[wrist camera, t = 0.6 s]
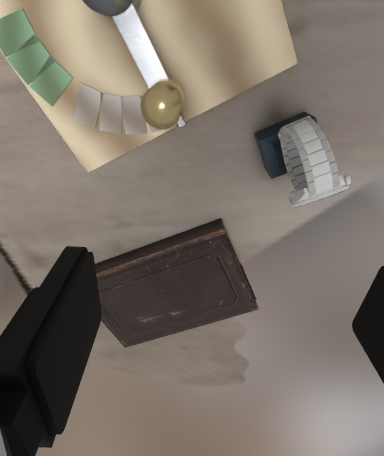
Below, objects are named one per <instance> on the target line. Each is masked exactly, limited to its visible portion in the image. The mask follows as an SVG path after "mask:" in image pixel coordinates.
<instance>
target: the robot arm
mask: <svg viewBox="0 0 384 456" xmlns="http://www.w3.org/2000/svg"><path fill="white" fill-rule="evenodd" d="M101 317H102V310H101V303H100V297H99V290H98V283H97V276H96V269H95V263H94V256H93V253H92V252H88V251H87V248H86V247H71V246H67V247H66V248H65V249H64V250H63V252H62V253H61V255H60V256H59V258H58V259H57V261H56V262H55V264H54V266H53V267H52V269H51V270H50V272H49V273H48V275H47V276H46V278H45V279H44V281H43V283H42V284H41V286H40V287H36V288H34V289H32V291H31V292H30V293H29V294H28V296H27V297H26V299H25V300H24V302H23V303H22V305H21V306H20V308H19V309H18V311H17V312H16V314H15V315H14V317H13V318H12V320H11V321H10V322H9V324H8V325H7V327H6V329H5V330H4V331H3V333H2V334H1V336H0V456H35V455H36V451H37V449H38V447H48V448H51V447H52V444H53V442H54V439H55V436H56V434H62V432H63V431H64V429H65V426H66V423H67V420H68V417H69V414H70V411H71V408H72V405H73V402H74V400H75V396H76V394H77V391H78V388H79V385H80V382H81V379H82V375H83V373H84V370H85V367H86V364H87V361H88V358H89V355H90V352H91V349H92V346H93V343H94V340H95V337H96V334H97V331H98V328H99V325H100V322H101ZM352 328H353V331H354V333H355V335H356V337H357V338H358V340H359V342H360V343H361V345H362V347H363V349H364V351H365V352H366V354H367V355H368V357H369V359H370V361H371V363H372V364H373V366H374V368H375V369H376V371H377V372H378V374H379V376H380V378H381V379H382V381H383V383H384V266H382V267H381V268H380V270H379V271H378V273H377V275H376V277H375V279H374V281H373V283H372V285H371V287H370V289H369V291H368V293H367V295H366V297H365V299H364V300H363V302H362V304H361V306H360V308H359V310H358V312H357V314H356V316H355V318H354V320H353V323H352Z"/></svg>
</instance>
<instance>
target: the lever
mask: <svg viewBox="0 0 384 456" xmlns="http://www.w3.org/2000/svg"><path fill="white" fill-rule="evenodd" d="M82 1H83V2H84V3H85V4H86V5H87V6H88V7H89V8H90V9H92V10H93V11H95V12H97V13H99V14H102V15H104V16H106V17H109V18H111V19H114V21H115V23H116V25H117V27H118V29H119V31H120V33H121V35H122V37H123V38H124V40H125V42H126V44H127V46H128V48H129V50H130V52H131V54H132V56H133V58H134V60H135V62H136V64H137V66H138V67H139V69H140V71H141V73H142V75H143V77H144V79H145V81H146V83H147V85H148V87H149V89H148V90H147V91H146V92H145V93H144V95H143V97H142V99H141V105H140V108H141V113H142V116H143V118H144V120H145V121H146V122H147V123H148V124H149V125H150V126H152V127H153V128H156V129H160V130H164V129H169V128H171V127H173V126H174V125H175V124H176V123H178V125H179V127H182V126H183V125H185V121H184V119H183V117H182V115H181V112H182V106H183V100H184V90H183V87H182V86H181V84H180V83H179V82H178V81H177V80H176V79H174V78H170V77H169V75H168V73H167V71H166V69H165V66H164V64H163V62H162V60H161V58H160V56H159V54H158V52H157V50H156V48H155V45H154V43H153V41H152V39H151V37H150V35H149V33H148V31H147V29H146V26H145V24H144V22H143V20H142V18H141V16H140V14H139V12H138V8H139V6H140V3H141V0H82Z"/></svg>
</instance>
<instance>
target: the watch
mask: <svg viewBox="0 0 384 456" xmlns="http://www.w3.org/2000/svg"><path fill="white" fill-rule="evenodd" d="M255 137H256V141H257V144H258V147H259V150H260V153H261V157H262V160H263V163H264V166H265V169H266V171H267V172H268V174H269V175H270V177H271V178H275V177H278V176H280V175H283V174H285V173H289V177H290V180H291V182H292V185H293V187H294V189H295V191H292V192H291V193H290V194H289V199H290V202H291V204H292V205H291V207H292V208H294V207H299V206H303V205H307V204H310V203H313V202H316V201H319V200H322V199H324V198H327V197H330V196H333V195H335V194H338V193H340V192H342V191H344V190H346V189H348V188H349V186H348V185H347V184H350V183H351V179H350V177H349V176H348V175H346V176H344V177H343V176H342V175H339V174H338V169H337V165H336V162H335V158H334V155H333V152H332V150H331V147H330V145H329V143H328V141H327V139H326V137H325V135H324V134H323V132H322V130H320V127H319V126H318V125H317V120H316V118H315V117H314V116H312V115H310V114H308V113H306V112H304V113H302V114H299V115H297V116H295V117H292V118H290V119H288V120H285V121H283V122H281V123H278V124H276V125H273V126H271V127H269V128H266V129H264V130H262V131H259V132H257V133H255ZM329 150H330V151H329ZM326 151H327V152H326ZM326 160H327V161H326ZM321 162H322V163H321ZM318 163H319V164H318ZM316 164H317V165H316ZM313 165H314V166H313ZM290 172H291V173H290ZM304 173H305V174H304ZM301 174H302V175H301ZM296 176H297V177H296Z"/></svg>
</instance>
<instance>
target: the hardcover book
mask: <svg viewBox="0 0 384 456" xmlns="http://www.w3.org/2000/svg"><path fill="white" fill-rule="evenodd" d="M95 269H96V276H97V283H98V290H99V297H100V303H101V310H102V317H101V321H102V322H103V323H104V324H105V325H106V326H107V328H108V329H109V330H110V331H111V332H112V333H113V334H114V336H115V337H116V338H117V339H118V340H119V341H120V343H121V344H122V345H123V346H124V347H129V346H132V345H136V344H139V343H143V342H146V341H150V340H153V339H157V338H160V337H164V336H167V335H171V334H174V333H178V332H181V331H185V330H188V329H192V328H195V327H199V326H202V325H206V324H209V323H213V322H216V321H220V320H223V319H227V318H230V317H234V316H237V315H241V314H244V313H248V312H251V311H255V310H258V309H259V308H258V305H257V303H256V301H255V300H256V297H255V295H254V292H253V290H252V288H251V285H250V283H249V281H248V278H247V276H246V274H245V271H244V269H243V267H242V264H241V263H240V264H239V261H238V259H237V257H236V254H235V252H234V250H233V247H232V245H231V243H230V240H229V238H228V236H227V233H226V231H225V229H224V227H223V224H222V219H218V220H216V221H213V222H210V223H207V224H205V225H202V226H199V227H196V228H194V229H191V230H188V231H185V232H183V233H180V234H177V235H174V236H172V237H169V238H166V239H163V240H161V241H158V242H155V243H152V244H150V245H147V246H144V247H141V248H139V249H136V250H133V251H130V252H128V253H125V254H122V255H119V256H117V257H114V258H111V259H108V260H105V261H103V262H100V263H97V264H95Z"/></svg>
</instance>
